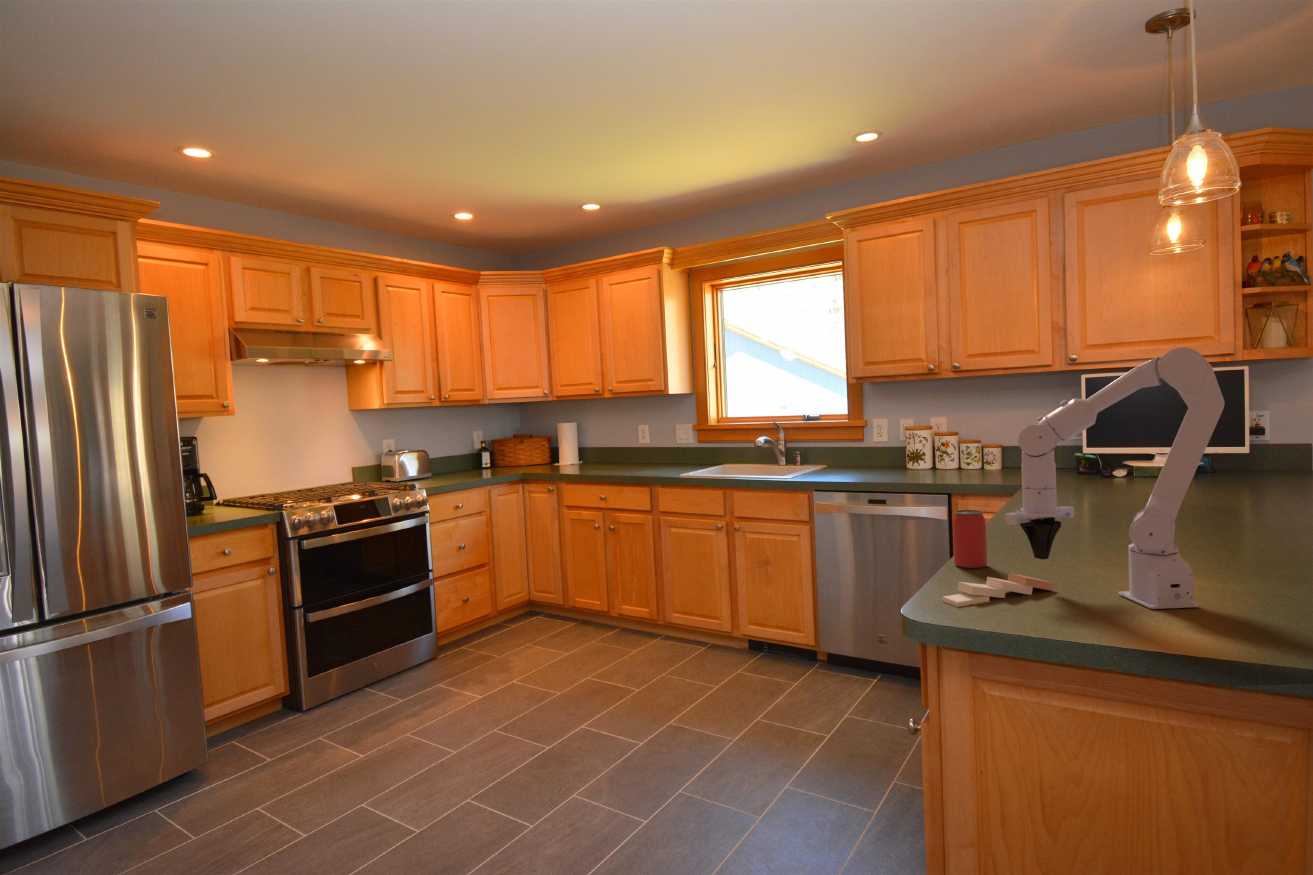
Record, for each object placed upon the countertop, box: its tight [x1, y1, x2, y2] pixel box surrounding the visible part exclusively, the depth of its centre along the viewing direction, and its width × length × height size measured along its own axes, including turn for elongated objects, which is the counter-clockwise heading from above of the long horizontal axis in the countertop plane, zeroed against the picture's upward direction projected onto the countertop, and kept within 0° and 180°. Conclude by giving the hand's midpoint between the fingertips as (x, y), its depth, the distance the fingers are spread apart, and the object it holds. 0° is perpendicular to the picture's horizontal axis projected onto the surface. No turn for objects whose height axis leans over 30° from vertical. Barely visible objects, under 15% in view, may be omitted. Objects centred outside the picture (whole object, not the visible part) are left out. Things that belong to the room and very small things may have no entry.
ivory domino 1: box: [941, 592, 990, 608], centre depth 129 cm, size 2×4×7 cm
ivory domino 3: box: [985, 576, 1034, 596], centre depth 132 cm, size 2×4×7 cm
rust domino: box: [1007, 572, 1055, 592], centre depth 133 cm, size 2×4×7 cm
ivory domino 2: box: [957, 581, 1007, 599], centre depth 131 cm, size 2×4×7 cm
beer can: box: [952, 509, 988, 570], centre depth 154 cm, size 7×7×12 cm
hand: (1041, 558), depth 134 cm, fingers closed
